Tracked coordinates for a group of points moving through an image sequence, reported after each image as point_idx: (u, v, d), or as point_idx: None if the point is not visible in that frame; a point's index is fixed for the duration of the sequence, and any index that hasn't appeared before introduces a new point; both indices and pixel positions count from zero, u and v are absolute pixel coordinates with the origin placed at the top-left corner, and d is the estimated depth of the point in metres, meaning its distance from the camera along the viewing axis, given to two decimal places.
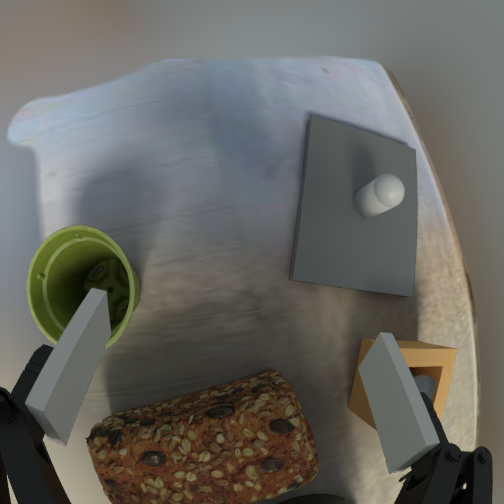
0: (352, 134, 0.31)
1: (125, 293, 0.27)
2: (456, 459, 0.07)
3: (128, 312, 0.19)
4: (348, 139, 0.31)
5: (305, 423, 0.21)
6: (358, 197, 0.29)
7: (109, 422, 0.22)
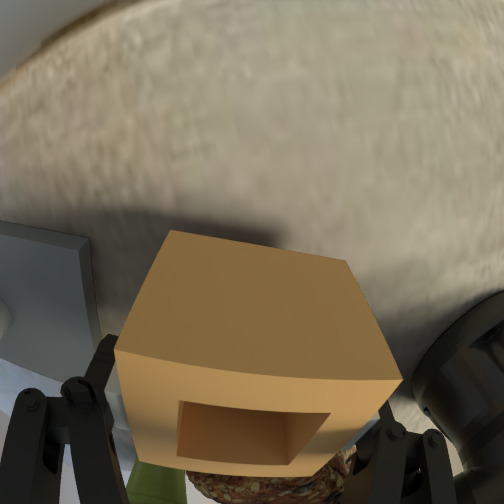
0: None
1: None
2: (400, 437, 0.08)
3: None
4: None
5: (215, 482, 0.17)
6: None
7: None
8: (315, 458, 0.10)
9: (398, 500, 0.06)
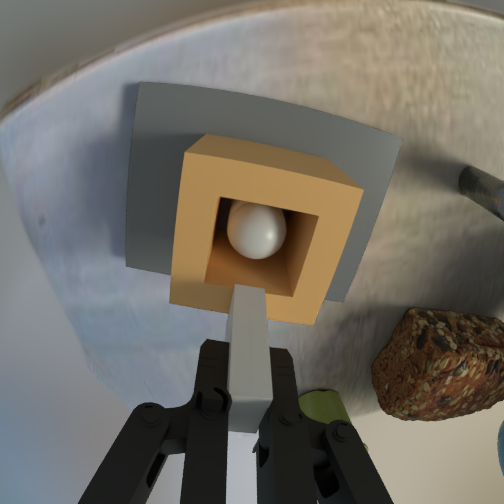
0: (140, 209, 0.21)
1: None
2: (297, 421, 0.09)
3: None
4: (149, 217, 0.21)
5: (401, 401, 0.23)
6: None
7: None
8: (314, 289, 0.15)
9: (314, 491, 0.06)
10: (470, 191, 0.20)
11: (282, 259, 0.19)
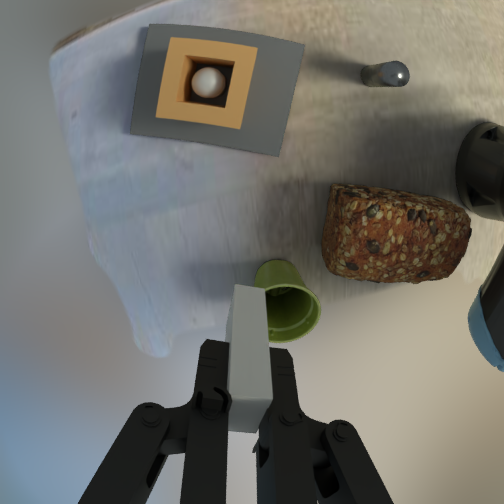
0: (143, 93, 0.30)
1: None
2: (297, 421, 0.09)
3: (298, 287, 0.34)
4: (149, 98, 0.30)
5: (335, 251, 0.33)
6: None
7: None
8: (237, 102, 0.25)
9: (313, 491, 0.06)
10: (366, 77, 0.29)
11: None
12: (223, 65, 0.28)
